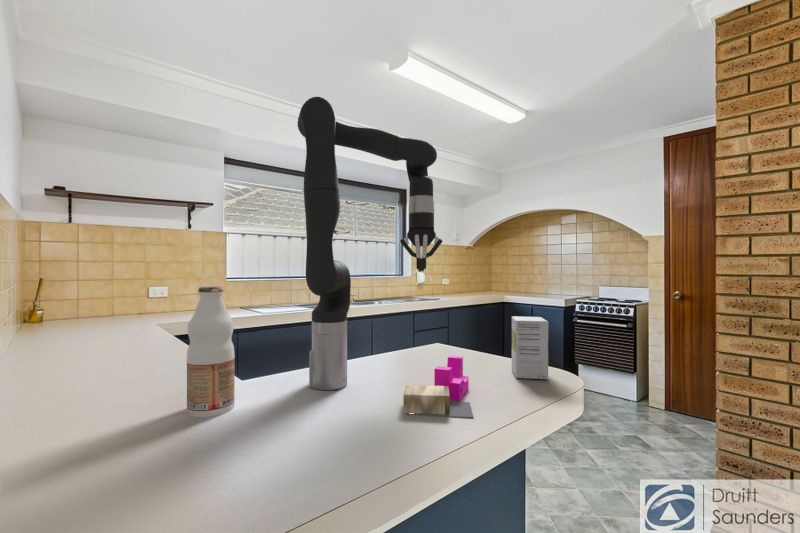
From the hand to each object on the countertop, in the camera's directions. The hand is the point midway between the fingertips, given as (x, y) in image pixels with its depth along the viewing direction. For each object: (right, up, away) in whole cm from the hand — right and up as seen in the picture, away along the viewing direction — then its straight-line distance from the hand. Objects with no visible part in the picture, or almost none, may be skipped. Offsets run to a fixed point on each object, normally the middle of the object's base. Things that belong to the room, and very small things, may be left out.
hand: (421, 271), depth 115 cm
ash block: (+5, -29, -27) cm, 40 cm away
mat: (+2, -31, -27) cm, 41 cm away
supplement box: (+32, -31, +1) cm, 45 cm away
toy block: (+8, -31, -14) cm, 35 cm away
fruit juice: (-48, -31, -30) cm, 64 cm away
